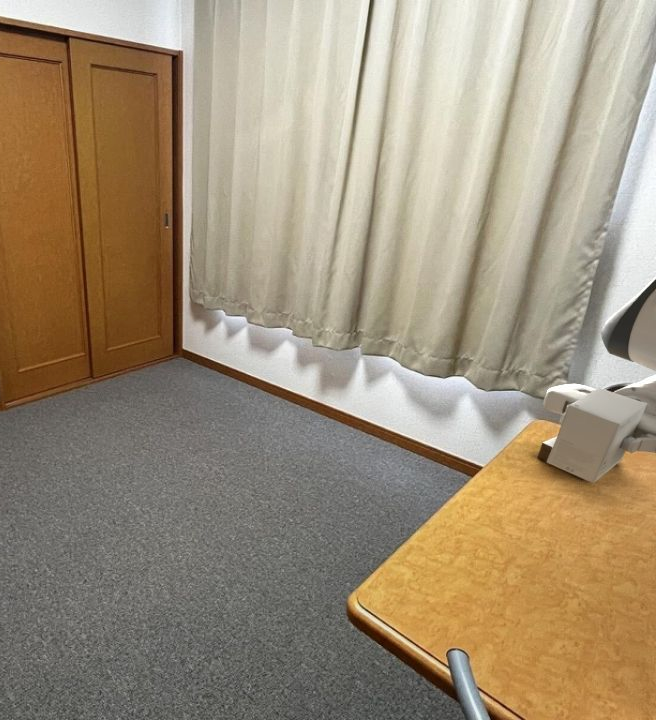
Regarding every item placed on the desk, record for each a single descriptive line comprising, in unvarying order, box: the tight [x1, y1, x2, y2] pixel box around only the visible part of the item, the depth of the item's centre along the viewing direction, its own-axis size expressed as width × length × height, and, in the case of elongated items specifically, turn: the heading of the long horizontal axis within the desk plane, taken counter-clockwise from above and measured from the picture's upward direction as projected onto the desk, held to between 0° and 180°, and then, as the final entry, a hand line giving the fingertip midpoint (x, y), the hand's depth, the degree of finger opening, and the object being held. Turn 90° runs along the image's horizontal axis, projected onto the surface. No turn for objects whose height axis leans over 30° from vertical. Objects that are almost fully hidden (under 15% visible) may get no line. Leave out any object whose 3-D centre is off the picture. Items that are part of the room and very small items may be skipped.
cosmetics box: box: [546, 387, 647, 484], centre depth 72 cm, size 10×6×10 cm, turn 122°
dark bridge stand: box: [537, 436, 586, 481], centre depth 91 cm, size 8×11×4 cm
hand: (594, 433), depth 71 cm, fingers closed on cosmetics box, 6 cm apart
